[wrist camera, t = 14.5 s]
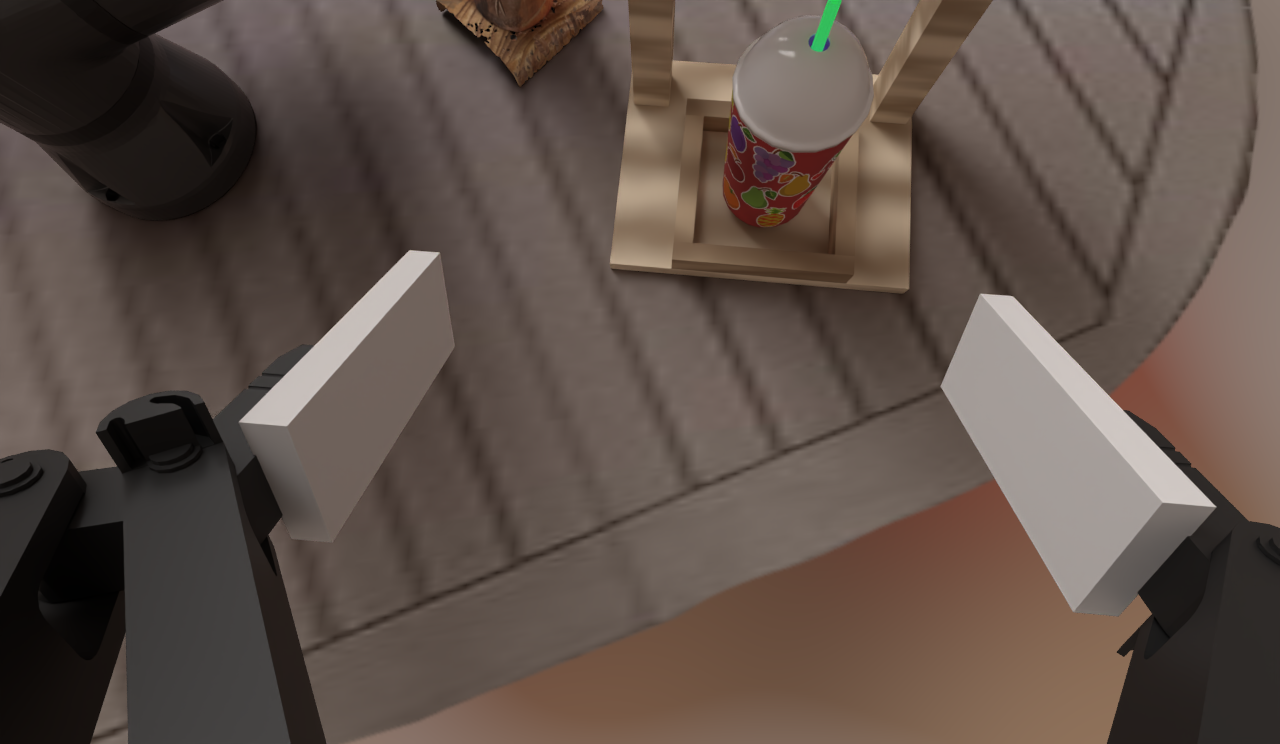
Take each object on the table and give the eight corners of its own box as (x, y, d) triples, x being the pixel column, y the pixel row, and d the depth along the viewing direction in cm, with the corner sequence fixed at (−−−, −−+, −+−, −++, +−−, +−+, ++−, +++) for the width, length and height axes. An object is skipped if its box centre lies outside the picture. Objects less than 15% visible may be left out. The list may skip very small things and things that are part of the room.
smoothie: (823, 164, 49) (937, -50, 29) (798, 255, 47) (900, 95, 28) (726, 139, 49) (773, -88, 30) (699, 228, 48) (729, 51, 28)
